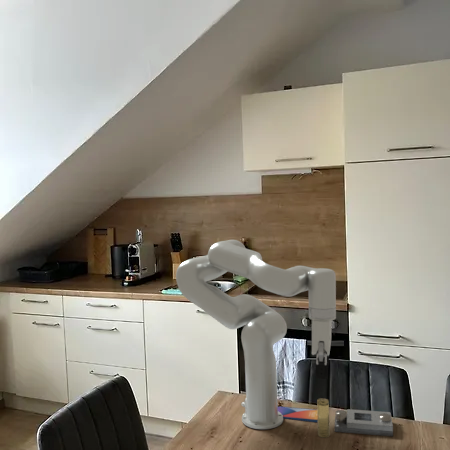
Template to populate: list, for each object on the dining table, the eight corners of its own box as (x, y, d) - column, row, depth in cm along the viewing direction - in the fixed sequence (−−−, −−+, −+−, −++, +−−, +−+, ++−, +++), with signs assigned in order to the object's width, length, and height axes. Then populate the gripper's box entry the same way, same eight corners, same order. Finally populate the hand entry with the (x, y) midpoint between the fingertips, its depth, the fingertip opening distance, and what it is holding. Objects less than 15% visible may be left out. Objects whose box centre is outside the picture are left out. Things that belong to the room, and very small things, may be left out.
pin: (315, 434, 141) (314, 400, 141) (323, 431, 143) (322, 397, 143) (323, 438, 139) (323, 403, 138) (331, 435, 141) (331, 400, 140)
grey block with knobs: (334, 431, 143) (334, 418, 142) (335, 417, 151) (335, 405, 151) (392, 436, 139) (392, 423, 138) (390, 422, 147) (390, 409, 147)
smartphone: (277, 409, 160) (276, 405, 160) (323, 413, 155) (323, 409, 155) (271, 419, 153) (271, 415, 153) (320, 423, 148) (320, 420, 148)
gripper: (310, 305, 148) (311, 361, 149) (306, 319, 131) (306, 382, 133) (336, 306, 146) (336, 362, 148) (335, 321, 130) (335, 384, 131)
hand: (322, 372), depth 140 cm, fingers open, 9 cm apart
